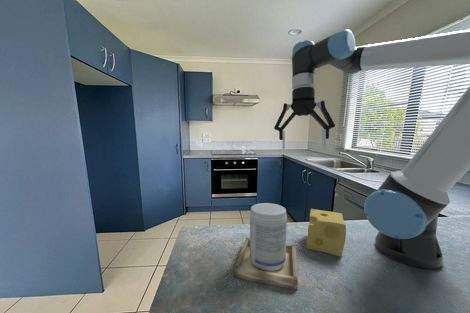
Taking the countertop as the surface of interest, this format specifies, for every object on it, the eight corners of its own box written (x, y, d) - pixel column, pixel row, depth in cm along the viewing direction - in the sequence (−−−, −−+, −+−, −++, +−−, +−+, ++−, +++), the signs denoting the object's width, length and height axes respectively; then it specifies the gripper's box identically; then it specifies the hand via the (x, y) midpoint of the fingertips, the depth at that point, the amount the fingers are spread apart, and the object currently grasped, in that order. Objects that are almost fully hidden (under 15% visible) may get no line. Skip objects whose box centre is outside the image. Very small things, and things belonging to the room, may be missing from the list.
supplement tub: (292, 264, 51) (295, 210, 50) (266, 278, 46) (268, 218, 44) (267, 247, 59) (269, 200, 58) (242, 257, 54) (243, 206, 52)
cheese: (305, 249, 60) (307, 218, 59) (308, 234, 69) (310, 207, 69) (344, 258, 55) (346, 225, 54) (341, 240, 65) (343, 212, 64)
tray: (294, 252, 58) (295, 244, 57) (297, 290, 43) (297, 279, 43) (246, 245, 61) (246, 237, 61) (233, 277, 47) (234, 267, 47)
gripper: (339, 89, 69) (338, 148, 70) (268, 95, 75) (268, 149, 76) (345, 82, 62) (345, 148, 62) (266, 89, 68) (267, 149, 69)
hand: (303, 149), depth 69 cm, fingers open, 13 cm apart
